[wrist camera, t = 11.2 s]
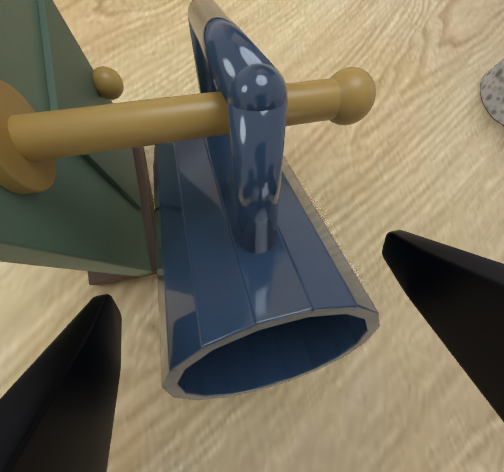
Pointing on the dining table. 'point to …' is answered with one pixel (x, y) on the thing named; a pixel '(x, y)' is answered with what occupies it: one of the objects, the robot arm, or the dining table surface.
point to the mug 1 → (245, 240)
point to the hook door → (104, 146)
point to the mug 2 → (494, 91)
